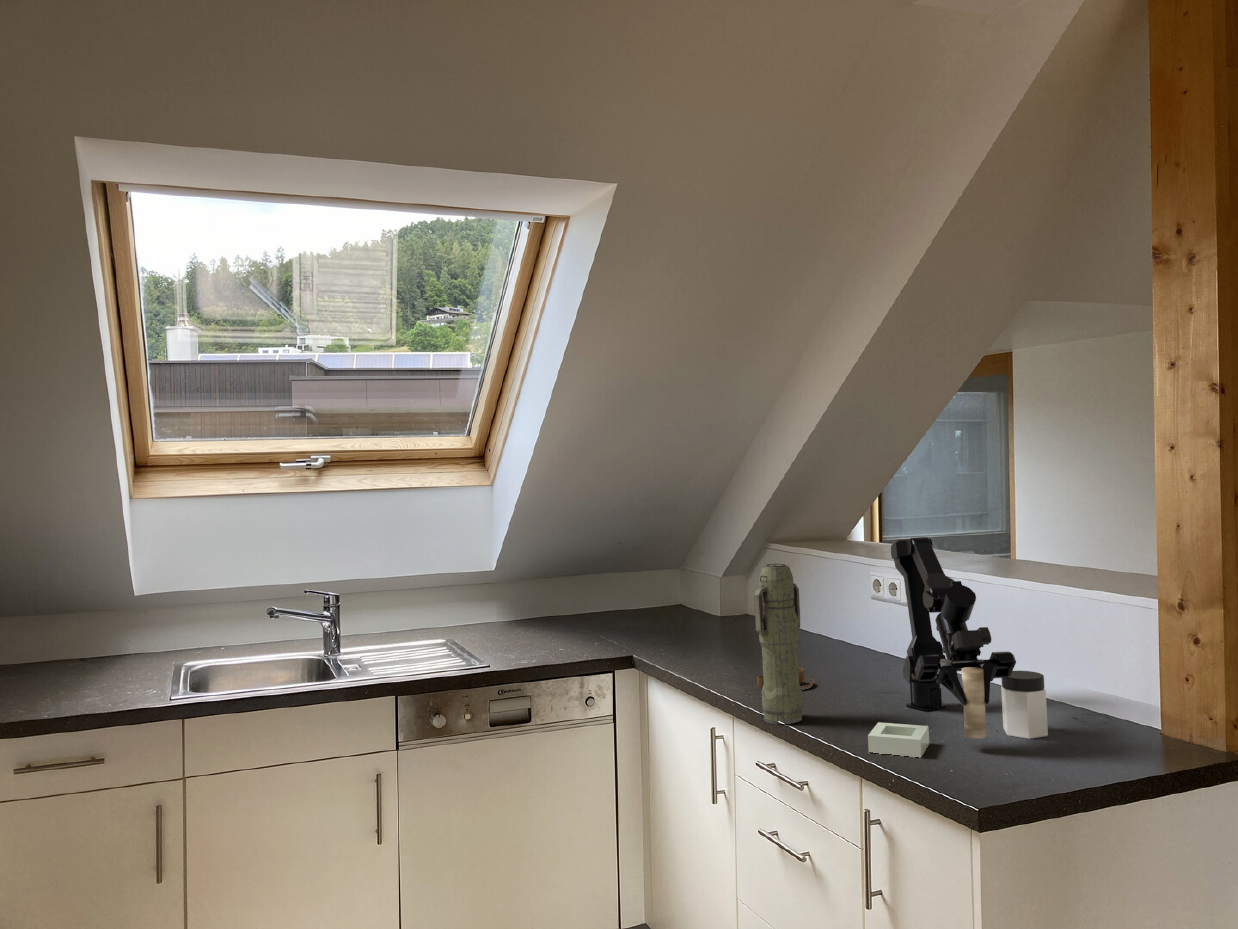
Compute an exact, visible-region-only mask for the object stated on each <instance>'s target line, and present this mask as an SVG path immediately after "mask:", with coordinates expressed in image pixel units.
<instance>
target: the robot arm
mask: <svg viewBox="0 0 1238 929" xmlns="http://www.w3.org/2000/svg"><path fill="white" fill-rule="evenodd" d="M933 545H934V544H933V540H932V538H930V537H928V536H922V537H921V536H920V537H919V536H918V537H910V538H905V539H904V538H902V539H895V541H894V542H893V543H892V544H891V545H890V556H891V559H893V563H894V567H895V569H896V570H897V571H898V573H899V574H901V576H902V577H903V581H904V582H903V583H904V588H905V596H906V603H907V604H906V605H907V611H908V618H909V624H910V632H911V640H910V643H909V645H908V647H907V649H906V658H905V660H904V664H903V668H902V675H903V679H904V680H905V681H906V682H907V683H909V690H910V702H908V703H907V702H906V703H905V706H906V707H909V708H912V709H916V710H920V711H924V712H929V711H933V710H939V709H943V708H946V707H947V704H945V703H942V702H943V701H942V699H943V698H942V697H943V696H942V688H941V685H942V686H943V687H945V689H947V691H949V692H950V693H951V694H952V695H953V696H954V697H955V698H956V699H957V700H958V701H959V702H960V704H962V705H966V698H965V694H964V692H963V689H962V684H961V681H960V679H959V676H958V672H962V668H965V667H977V668H982V669H983V674H984V694H985V705H989V703H990V693H991V692H990V691H991V682H993V681H994V679H1002V678H1007V677H1009V676H1011V673H1012V671H1014V668H1015V666H1016V664H1017V660H1016V658H1015V655H1014V654H1013V653H1012V652H1011V651H993V652H991V654H990V656H989V659H978V657H979V656H981V653H982V652H981V648H983V647H984V646H985V645H986V646H988V645H989V644H991V643H992V635H991V631H990V629H989V627H988V626H985V627H984V626H983V627H982V626H980V627H978V629H972V630H970V629H969V628H968V626H967V623H966V622H968V621H969V620H970V618H971V615H972V613H973V610H974V607H975V605H976V601H977V595H976V592H974V591H973V590H972V589H971V588H970V587H968V586H966V585H963V583H962V581H961V580H956V581H955V579H953V578H951V577H949V576H947V575H946V574H945V572H944V569H943V567H942V565H941V563H940V561H939V560H938V559H939V558H938V557H937V555H936V552H935V551H934V549H933V548H934V547H933ZM930 613H931V614H935V613H938V614H937V616H936V617H935V619H934V620H935V623H936V627H935V628H936V631H938V634H939V637H940V640H941V641H939V640H937V639H936V638H935V637H934V634H933V630H932V629H933V628H932V622H931V617H930Z"/></svg>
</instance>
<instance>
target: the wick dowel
mask: <svg viewBox="0 0 1238 929" xmlns="http://www.w3.org/2000/svg"><path fill="white" fill-rule="evenodd" d="M961 683H962V684H961V687H962V689H963V692H964V694H965V698H966V705H963V704H962V705H963V707H962V708H963V723H964V737H966V738H969V739H978V740H980V739H981V740H982V739H985V738H987V735H988V734H987V721H986V720H987V719H986V718H987V717H986V703H985V694H984V674H983V669H982V668H977V667H965V668H962V671H961Z"/></svg>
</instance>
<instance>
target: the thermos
mask: <svg viewBox="0 0 1238 929" xmlns="http://www.w3.org/2000/svg"><path fill="white" fill-rule="evenodd" d="M758 580H759V581H758V582H759V587H758V588H756V589H755V592H754V594H753V599H754V617H755V618H754V620H755V631H756V632H757V633H758V634H759V635H758V637H759V638H758V639H759V644H760V645H761V651H762V652H761V654H762V672H763V673H762V674H763V675H762V676H763V677H764V685H763V689H762V688H761V689H762V696H761V697H762V699H761V703H762V704H761V705H762V710H763V721H764V722H765V723H767V724H771V725H776V726H777V723H778V721H785V720H793V719H798V718H802V717H803V707H804V706H803V691H802V689H801V687H800V686H801V684H799V672H798V667H799V655H798V654H799V653H798V645H799V641H800V636H799V634H800V631H799V629H801V608H800V607H801V606H800V605H801V604H800V590H799V587H798V585H797V583H794V576H793V572H792V571H791V568H790V565H787V564H786V563H769V564H765V565H764V566H762V568H761V570H760V573H759V577H758ZM776 722H777V723H776Z"/></svg>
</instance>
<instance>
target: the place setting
mask: <svg viewBox="0 0 1238 929" xmlns="http://www.w3.org/2000/svg"><path fill="white" fill-rule="evenodd" d="M798 672H799V684H800V683H801V684H802V682H803V681H804V678H806V679H809V680H811V681H813V683H811V684H806V685H801V684H800V687H808V686H811V685H813V684H814V685H815V680H814V679H812V678H810V677H809V678H808V677H805V669H804V668H802V667H799V666H798ZM756 684H757V687H758V688H759V689H760V695H761V694H762V689H763V685H764V677H763V675H759V676H756Z"/></svg>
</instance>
